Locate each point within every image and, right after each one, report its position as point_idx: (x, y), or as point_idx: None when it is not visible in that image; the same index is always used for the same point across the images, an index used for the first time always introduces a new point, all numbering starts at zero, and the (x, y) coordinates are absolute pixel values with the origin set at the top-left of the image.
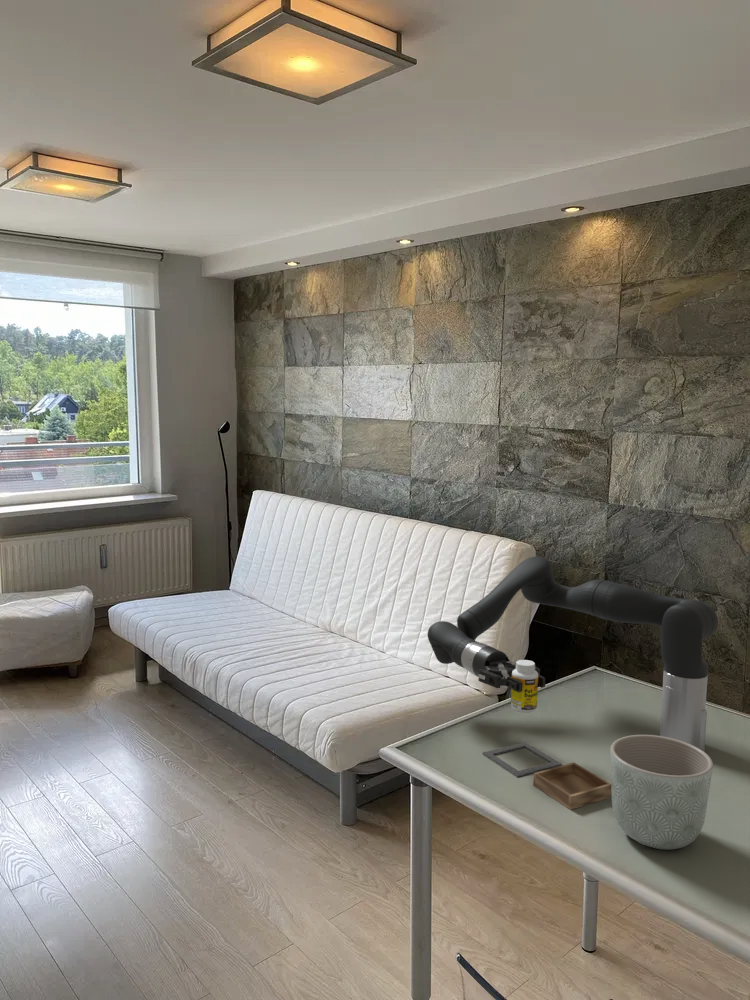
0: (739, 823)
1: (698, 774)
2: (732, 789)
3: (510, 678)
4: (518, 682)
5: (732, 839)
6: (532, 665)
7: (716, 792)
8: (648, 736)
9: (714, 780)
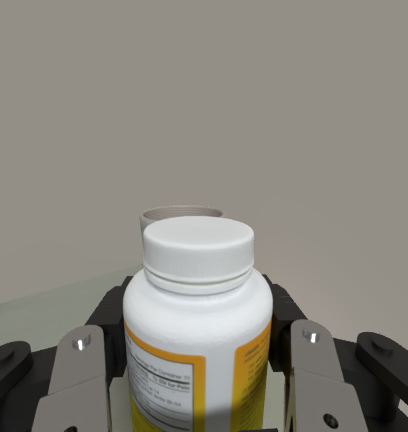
0: (109, 273)
1: (186, 205)
2: (34, 298)
3: (290, 311)
4: (266, 277)
5: (139, 267)
6: (191, 217)
7: (54, 299)
8: (156, 220)
9: (15, 313)
